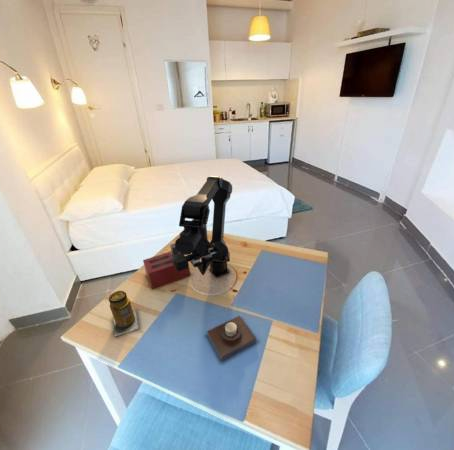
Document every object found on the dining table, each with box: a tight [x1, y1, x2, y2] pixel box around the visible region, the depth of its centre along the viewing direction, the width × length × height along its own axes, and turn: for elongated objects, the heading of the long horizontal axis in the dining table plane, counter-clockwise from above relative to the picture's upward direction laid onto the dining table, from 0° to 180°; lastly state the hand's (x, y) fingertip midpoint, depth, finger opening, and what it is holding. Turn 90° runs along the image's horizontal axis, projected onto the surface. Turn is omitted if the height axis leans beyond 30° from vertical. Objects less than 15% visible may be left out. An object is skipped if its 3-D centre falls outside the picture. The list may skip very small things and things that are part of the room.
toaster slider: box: [169, 242, 179, 256], centre depth 106 cm, size 2×3×4 cm
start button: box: [225, 322, 237, 336], centre depth 77 cm, size 4×4×2 cm
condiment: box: [108, 290, 139, 337], centre depth 82 cm, size 7×8×12 cm
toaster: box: [142, 251, 191, 290], centre depth 105 cm, size 16×10×8 cm, turn 120°
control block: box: [206, 315, 257, 362], centre depth 78 cm, size 12×10×4 cm
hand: (202, 274), depth 88 cm, fingers closed
